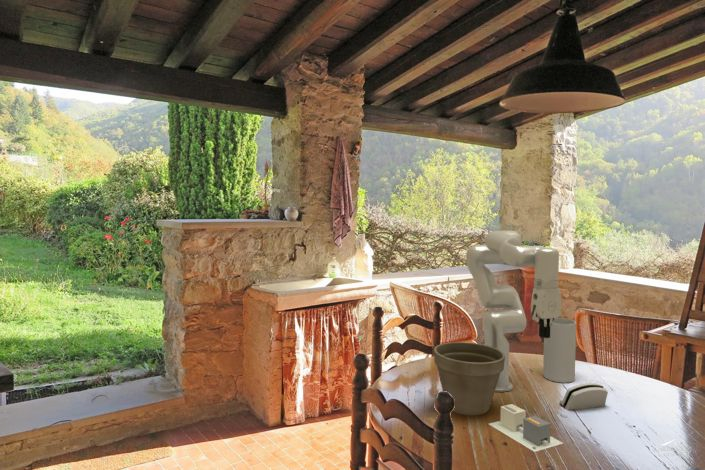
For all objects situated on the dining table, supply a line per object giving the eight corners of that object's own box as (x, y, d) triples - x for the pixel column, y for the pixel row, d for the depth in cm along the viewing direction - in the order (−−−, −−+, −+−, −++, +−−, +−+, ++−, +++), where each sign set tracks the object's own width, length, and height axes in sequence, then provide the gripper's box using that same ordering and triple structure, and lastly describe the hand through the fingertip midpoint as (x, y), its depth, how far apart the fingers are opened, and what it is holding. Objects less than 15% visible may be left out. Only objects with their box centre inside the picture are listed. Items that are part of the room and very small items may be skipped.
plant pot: (516, 409, 170) (517, 350, 169) (482, 432, 152) (482, 367, 151) (456, 391, 187) (457, 337, 186) (419, 409, 170) (420, 350, 169)
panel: (488, 427, 156) (488, 420, 156) (515, 420, 161) (515, 413, 161) (534, 455, 138) (534, 447, 138) (563, 447, 143) (563, 439, 143)
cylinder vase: (537, 377, 202) (538, 320, 201) (551, 371, 210) (552, 316, 209) (566, 385, 193) (567, 326, 191) (579, 378, 201) (581, 321, 199)
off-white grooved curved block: (595, 399, 178) (602, 378, 175) (604, 408, 174) (612, 387, 170) (557, 404, 174) (564, 382, 170) (565, 413, 170) (573, 391, 166)
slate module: (523, 437, 146) (523, 417, 146) (534, 434, 148) (535, 414, 148) (537, 446, 141) (538, 425, 141) (550, 442, 143) (550, 422, 143)
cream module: (500, 424, 155) (500, 405, 155) (511, 421, 158) (512, 403, 157) (513, 431, 150) (513, 412, 150) (525, 428, 152) (525, 410, 152)
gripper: (538, 287, 153) (537, 342, 154) (571, 284, 159) (569, 337, 160) (521, 284, 160) (520, 336, 161) (553, 281, 166) (551, 332, 167)
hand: (544, 336), depth 161 cm, fingers closed
